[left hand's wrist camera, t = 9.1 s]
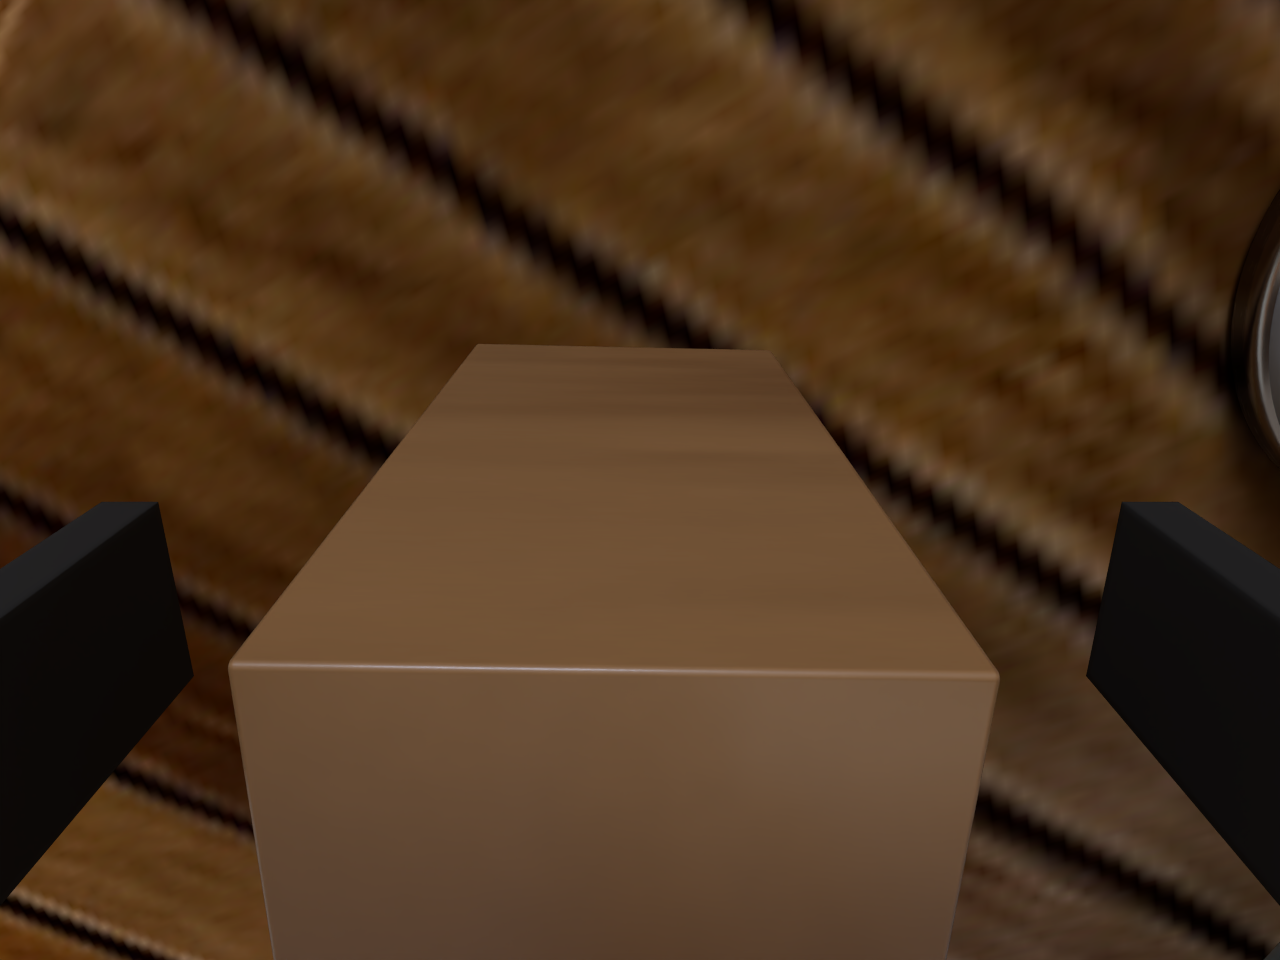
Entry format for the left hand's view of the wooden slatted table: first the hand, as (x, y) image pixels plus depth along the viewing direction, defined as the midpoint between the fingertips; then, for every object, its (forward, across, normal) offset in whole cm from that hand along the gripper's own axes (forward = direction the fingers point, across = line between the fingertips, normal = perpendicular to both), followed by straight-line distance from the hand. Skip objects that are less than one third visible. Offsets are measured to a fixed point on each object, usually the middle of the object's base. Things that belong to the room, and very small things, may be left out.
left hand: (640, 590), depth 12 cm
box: (+7, -1, -8) cm, 11 cm away
